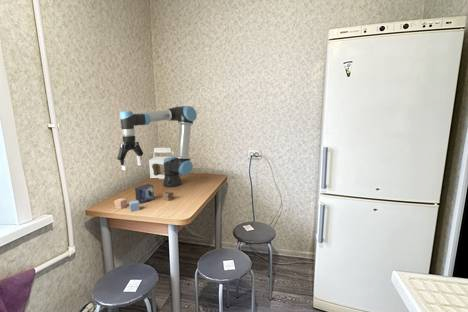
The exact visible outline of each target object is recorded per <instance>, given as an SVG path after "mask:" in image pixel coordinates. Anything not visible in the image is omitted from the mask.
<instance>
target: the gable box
mask: <svg viewBox="0 0 468 312" xmlns="http://www.w3.org/2000/svg"><path fill="white" fill-rule="evenodd" d="M157 153H158V154H159V153H160V154H161V153H163V154H164V153H166V154H167V153H169V154H170V156H156V154H157ZM176 156H177V155H176V154H175V152H174V150H172V148H171V147H154V148H153V150H152V151H151V155H150V157H149V159H148V163H149V175H150V176H149V178H150V179H151V178H159V179H158V180H164V177H165V174H164V171H161V167H160V165H164V164H163V163H164V159H165V158H170V157H176ZM151 180H152V179H151Z"/></svg>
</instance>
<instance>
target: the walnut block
mask: <svg viewBox="0 0 468 312" xmlns="http://www.w3.org/2000/svg"><path fill="white" fill-rule="evenodd" d="M174 194H175V193H174V192H173V191H164V192H162V199H163V201H167V202H170V201H172V200H174V199H175V196H174Z"/></svg>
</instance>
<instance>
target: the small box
mask: <svg viewBox="0 0 468 312" xmlns="http://www.w3.org/2000/svg"><path fill="white" fill-rule="evenodd" d="M134 190H135V191H134V193H135V201H136V200H138V202H139V205H141V204H144V203H148V202H151V201H154V200H155V190H154V185H153V184H150V183H147V184H143V185H138V186H135V187H134Z"/></svg>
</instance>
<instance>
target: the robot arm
mask: <svg viewBox="0 0 468 312" xmlns="http://www.w3.org/2000/svg"><path fill="white" fill-rule="evenodd" d="M196 119H197V110H196V109H195V108H194V107H193V106H191V105H182V106H174V107H171V108H166V109H163V110H156V111H148V112H147V111H146V112H138V113H133V111H132V110H130V111H129V110H128V111H120V112H119V121H120V126H121V135H122V141H123V143H120V144H119V150H118V154H117V160H118V161H120V162H119V163H120V165H121V171H127V165H126V156H127V154H128V152H130V151H131V150H132V151H134V153H135V154H136V161H137V163H136V164H137V166H142V165H143V164H142V156H143V155H144V152H143V150H142V147H141V146H140V142H139V141H136V136H135V135H136V133H135V127H136V126H147V125H150V124H151V123H154V122H162V121H168V122H170V121H175V122H177V123H178V125H179V133H178V145H177V155H175V156H176V157H171V156H169V157H170V158H165V159H164V163H163V164H162V165H163V172H164V174H165V177H164V179H163V182H162V186H163V187H165V188H174V187H179V186H181V185H182V179H181V177H180V176H186V175H189V174H190V173H191V172H192V170H193V163H192V161H191V158H190V156H189V155H190V154H189V152H190V142H191V141H190V139H191V127H192V125H193V124H194V121H195V120H196Z"/></svg>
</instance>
